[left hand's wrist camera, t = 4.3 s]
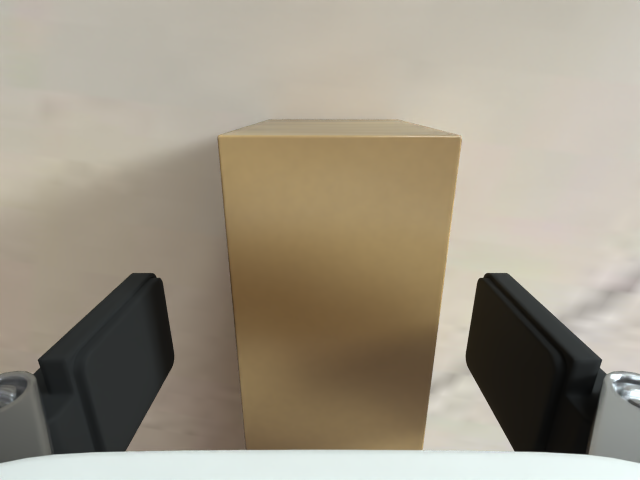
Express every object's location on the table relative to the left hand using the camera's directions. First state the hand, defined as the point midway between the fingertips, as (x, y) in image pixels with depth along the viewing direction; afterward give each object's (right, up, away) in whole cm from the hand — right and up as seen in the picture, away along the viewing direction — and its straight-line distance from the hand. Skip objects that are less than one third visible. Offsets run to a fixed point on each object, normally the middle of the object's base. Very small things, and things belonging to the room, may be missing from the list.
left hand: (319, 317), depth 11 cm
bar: (0, -22, +14) cm, 26 cm away
